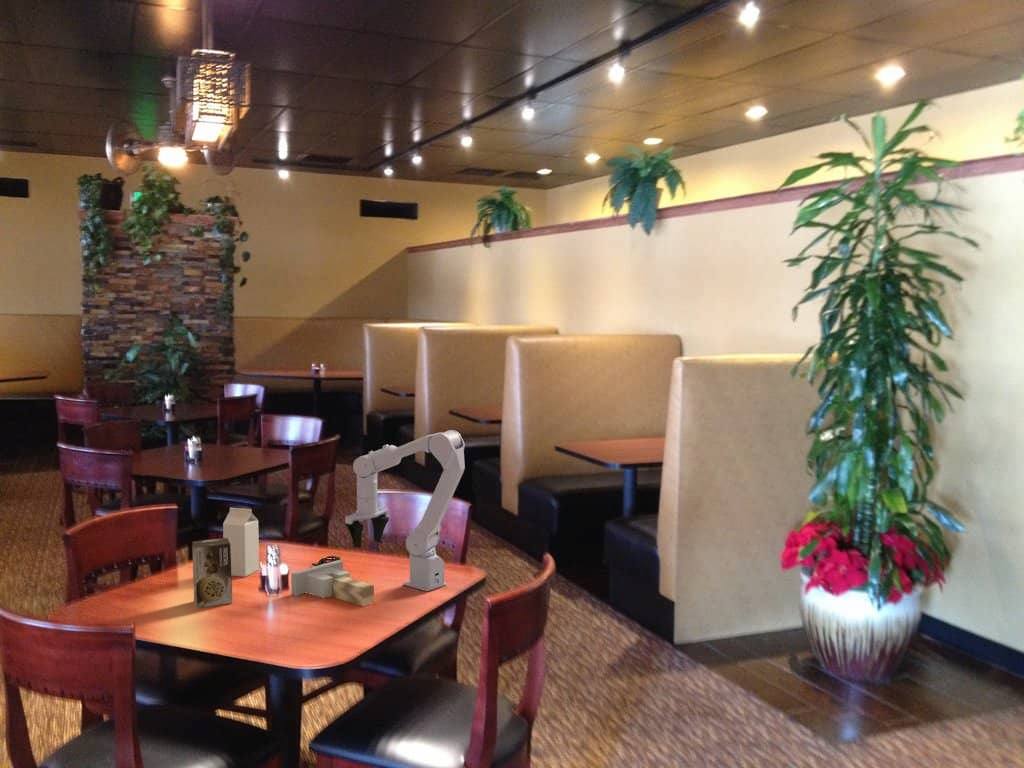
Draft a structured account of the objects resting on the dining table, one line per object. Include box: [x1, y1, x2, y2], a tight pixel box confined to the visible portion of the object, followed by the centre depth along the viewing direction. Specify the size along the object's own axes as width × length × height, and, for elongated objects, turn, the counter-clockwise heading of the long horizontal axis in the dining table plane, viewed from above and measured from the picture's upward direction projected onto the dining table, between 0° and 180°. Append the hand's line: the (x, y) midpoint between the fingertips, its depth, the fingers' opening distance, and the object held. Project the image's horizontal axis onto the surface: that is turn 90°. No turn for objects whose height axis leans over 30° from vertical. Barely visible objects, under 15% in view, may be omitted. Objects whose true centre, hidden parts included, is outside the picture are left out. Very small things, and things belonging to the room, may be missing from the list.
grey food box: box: [191, 537, 234, 609], centre depth 228 cm, size 9×6×16 cm
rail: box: [332, 576, 375, 607], centre depth 233 cm, size 15×4×5 cm, turn 51°
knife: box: [311, 555, 341, 566], centre depth 258 cm, size 25×6×1 cm, turn 165°
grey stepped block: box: [290, 560, 351, 599], centre depth 239 cm, size 9×16×6 cm, turn 141°
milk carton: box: [222, 507, 260, 578], centre depth 254 cm, size 7×7×19 cm
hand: (367, 544), depth 250 cm, fingers open, 7 cm apart
